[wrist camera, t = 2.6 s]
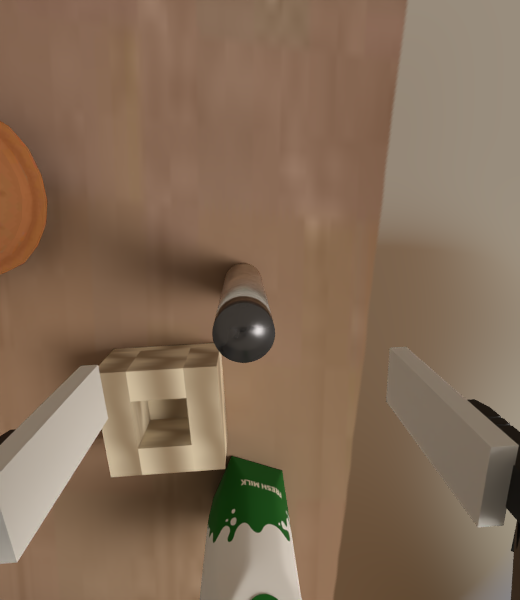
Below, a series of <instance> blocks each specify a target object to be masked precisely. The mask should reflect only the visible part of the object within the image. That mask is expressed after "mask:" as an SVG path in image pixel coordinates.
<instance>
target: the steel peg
mask: <svg viewBox="0 0 520 600" xmlns="http://www.w3.org/2000/svg"><path fill="white" fill-rule="evenodd" d="M274 338H275V328H274V324H273V320H272V316H271V313H270V309H269V305H268V301H267V297H266V294H265V290H264V286H263V282H262V278H261V275H260V273H259V271H258V270H257V269H256V268H255V267H254V266H252V265H250V264H247V263H240V264H236V265H234V266H233V267H231V268H230V269H229V271H228V272H227V274H226V277H225V281H224V285H223V289H222V293H221V297H220V301H219V306H218V310H217V314H216V318H215V322H214V326H213V341H214V344H215V346H216V348H217V349H218V351H219V352H220V353H221V354H222V355H223V356H224V357H226V358H228V359H229V360H232V361H235V362H240V363H247V362H252V361H255V360H258V359H260V358H261V357H263V356H264V355H265V354H266V353H267V352H268V351H269V350H270V348H271V347H272V345H273V342H274Z"/></svg>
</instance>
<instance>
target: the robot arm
mask: <svg viewBox="0 0 520 600" xmlns="http://www.w3.org/2000/svg"><path fill="white" fill-rule="evenodd" d="M387 383H388V384H387V397H386V402H387V403H388V404H389V406H390V407H391V409H392V410H393V411H394V413H395V414H396V415H397V417H398V418H399V419H400V421H401V422H402V423H403V425H404V426H405V428H406V429H407V431H408V432H409V433H410V435H411V436H412V437H413V439H414V440H415V442H416V443H417V444H418V446H419V447H420V448H421V450H422V451H423V453H424V454H425V455H426V456H427V458H428V460H429V461H430V462H431V464H432V465H433V466H434V468H435V469H436V471H437V472H438V473H439V475H440V476H441V477H442V478H443V480H444V481H445V483H446V484H447V486H448V487H449V488H450V490H451V491H452V493H453V494H454V495H455V497H456V498H457V499H458V500H459V502H460V504H461V505H462V506H463V508H464V509H465V510H466V512H467V513H468V515H469V516H470V517H471V519H472V520H473V522H474V523H475V524H476V526H477V527H489V526H502V525H504V519H505V514H506V509H508V510H509V511H510V513H512V515H513V516H514V517H515V518H516V519H517V524H516V529H515V534H514V539H513V544H512V549H511V551H513V552H514V559H513V576H512V591H511V600H520V432H519V431H518V430H517V429H515V428H514V427H513V426H510V424H509V423H508V422H507V421H506V420H505V419H503V418H501V416H500V415H499V414H497V413H496V412H495V411H493V410H492V409H491V408H490V407H488V406H486V405H484V404H482V403H480V402H479V401H477V400H474V399H473V400H466V399H465V398H464V397H463V396H462V395H461V394H459V393H458V392H457V391H456V390H455V389H454V388H453V387H451V386H450V385H449V384H448V383H447V382H446V381H445V380H443V379H442V378H441V377H440V376H439V375H438V374H437V373H435V372H434V371H433V370H432V369H431V368H430V367H429V366H427V365H426V364H425V363H424V362H423V361H422V360H420V359H419V358H418V357H417V356H416V355H415V354H414V353H412V352H411V351H410V350H409V349H408V348H407V347H399V348H390V352H389V368H388V382H387ZM107 420H108V415H107V410H106V405H105V399H104V394H103V388H102V383H101V378H100V372H99V367H98V365H86V366H80V367H79V368H78V369H77V370H76V371H75V372H74V373H73V374H72V375H71V376H70V377H69V378H68V379H67V380H66V381H65V382H64V383H63V384H62V385H61V386H60V387H59V388H58V389H57V390H56V391H54V392H53V393H52V394H51V395H50V396H49V397H48V398H47V399H46V400H45V401H44V402H43V403H42V404H41V405H40V406H39V407H38V408H37V409H36V410H35V411H34V412H33V413H32V414H31V415H30V416H29V417H28V418H27V419H26V420H25V421H24V422H23V423H22V424H21V425H20V426H19V427H18V428H17V429H15V430H9V431H8V432H6V433H5V434H3V435H1V436H0V564H2V563H15V562H18V560H19V559H20V557H21V555H22V554H23V552H24V551H25V549H26V548H27V546H28V544H29V543H30V541H31V540H32V538H33V536H34V535H35V533H36V532H37V530H38V529H39V527H40V525H41V524H42V522H43V521H44V519H45V518H46V516H47V514H48V513H49V511H50V510H51V508H52V506H53V505H54V503H55V502H56V500H57V499H58V497H59V495H60V494H61V492H62V491H63V489H64V488H65V486H66V484H67V483H68V481H69V480H70V478H71V477H72V475H73V473H74V472H75V470H76V469H77V467H78V465H79V464H80V462H81V461H82V459H83V458H84V456H85V454H86V453H87V451H88V450H89V448H90V447H91V445H92V443H93V442H94V440H95V439H96V437H97V436H98V434H99V432H100V431H101V429H102V428H103V426H104V424H105V423H106V421H107Z"/></svg>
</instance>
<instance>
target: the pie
mask: <svg viewBox="0 0 520 600" xmlns="http://www.w3.org/2000/svg"><path fill="white" fill-rule="evenodd" d="M46 218H47V197H46V193H45V188H44V184H43V179H42V175H41V173H40V171H39V169H38V167H37V165H36V163H35V161H34V158H33V156H32V154H31V152H30V150H29V149H28V148H27V146H26V145H25V144H24V143H23V142H22V141H21V140H20V138H19V137H18V136H17V135H16V134H15V133H14V131H13V130H12V129H11V128H10V127H9V126H8V125H6V124H4V123H3V122H1V121H0V274H3V273H5V272H7V271H9V270H11V269H13V268H15V267H17V266H19V265H21V264H23V263H25V261H26V260H27V259H28V258H29V256H30V255H31V254H32V253H33V251H34V250H35V249H36V247H37V246H38V244H39V242H40V239H41V237H42V234H43V232H44V229H45V226H46Z"/></svg>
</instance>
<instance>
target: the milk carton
mask: <svg viewBox="0 0 520 600" xmlns="http://www.w3.org/2000/svg"><path fill="white" fill-rule="evenodd" d="M200 600H302V598H301V594H300V587H299V581H298V574H297V567H296V561H295V554H294V548H293V541H292V534H291V528H290V521H289V514H288V507H287V500H286V494H285V487H284V480H283V473H282V470H278V469H275V468H271V467H268V466H264V465H261V464H258V463H254V462H251V461H247V460H244V459H240V458H237V457H234V456H231V459H230V461H229V463H228V466H227V468H226V470H225V473H224V475H223V477H222V480H221V482H220V484H219V487H218V489H217V491H216V493H215V496H214V498H213V502H212V506H211V511H210V515H209V520H208V528H207V536H206V545H205V555H204V564H203V573H202V582H201V592H200Z"/></svg>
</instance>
